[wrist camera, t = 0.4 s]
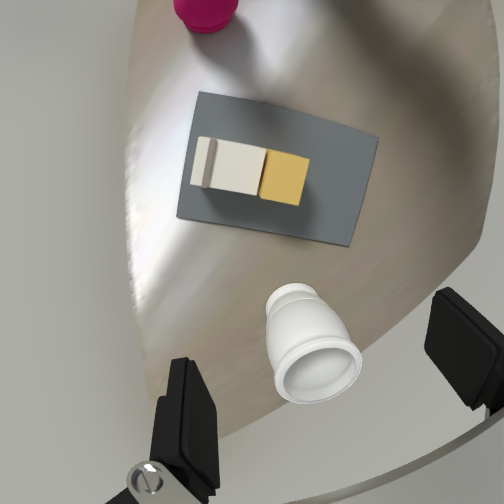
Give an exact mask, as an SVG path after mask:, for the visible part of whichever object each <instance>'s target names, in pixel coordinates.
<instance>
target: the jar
mask: <svg viewBox="0 0 504 504" xmlns="http://www.w3.org/2000/svg"><path fill="white" fill-rule="evenodd" d="M266 316H267V324H266V331H267V332H266V345H267V352H268V356H269V360H270V362H271V365H272V368H273V370H274V372H275V376H274V380H275V385H276V389H277V391H278V393H279V394H280V395H281V396H282V397H283V398H285V399H286V400H288V401H291V402H294V403H299V404H313V403H319V402H323V401H326V400H329V399H331V398H333V397H335V396H337V395H339V394H340V393H342V392H343V391H345V390H346V389H347V388H348V387H349V386H350V385H351V384H352V383H353V382H354V381H355V380H356V378H357V377H358V375H359V373H360V371H361V367H362V357H361V354H360V352H359V350H358V348H357V347H356V346H355V345H354V344H353V343H352V342H351V340H350V337H349V334H348V332H347V330H346V328H345V326H344V324H343V322H342V321H341V319H340V318H339V317H338V315H337V314H336V313H335V312H334V311H333V310H332V309H331V308H330V307H329V306H328V305H327V304H326V303H325V302H324V301H323V300H322V299H321V298H319V297H318V295H317V293H316V292H315V290H314V289H312V288H311V287H310V286H308V285H305V284H301V283H291V284H287V285H284V286H282V287H280V288H278V289H277V290H276V291H274V292H273V293H272V295H271V296H270V297H269V299H268V301H267V304H266Z"/></svg>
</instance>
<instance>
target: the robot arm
mask: <svg viewBox="0 0 504 504" xmlns="http://www.w3.org/2000/svg"><path fill="white" fill-rule="evenodd" d="M424 349H425V352H426V354H427V355H428V356H429V357H430V359H431V360H432V361H433V363H434V364H435V365H436V366H437V368H438V369H439V370H440V371H441V373H442V374H443V375H444V377H445V378H446V379H447V381H448V382H449V383H450V385H451V386H452V387H453V389H454V390H455V391H456V392H457V394H458V396H459V397H460V398H461V400H462V401H463V402H464V404H465V405H466V406H470V408H471V409H472V411H474V410H475V409H477V408H479V407H480V406H481V405H482V404H483V403H484V404H485V405H486V413H485V421H483V422H482V423H480V424H479V425H477V426H476V427H474V428H472V429H471V430H469V431H468V432H466V433H464V434H463V435H461V436H460V437H458V438H456V439H454V440H453V441H451V442H449V443H447V444H445V445H444V446H442V447H440V448H438V449H437V450H434V451H433V452H431V453H429V454H427V455H425V456H423V457H421V458H419V459H417V460H414V461H412V462H410V463H408V464H406V465H404V466H401V467H399V468H397V469H394V470H392V471H390V472H387V473H385V474H382V475H380V476H377V477H374V478H372V479H369V480H367V481H364V482H361V483H358V484H355V485H352V486H349V487H346V488H343V489H340V490H336V491H333V492H330V493H326V494H322V495H319V496H315V497H311V498H307V499H303V500H298V501H294V502H289V503H284V504H504V335H503V334H502V333H501V332H500V331H499V330H498V329H497V328H496V327H495V326H494V325H492V323H490V322H489V321H488V320H487V319H486V318H485V317H484V316H483V315H481V313H479V312H478V311H477V310H476V309H475V308H474V307H473V306H472V305H470V304H469V303H468V302H467V301H466V300H464V299H463V298H462V297H461V296H460V295H459V294H458V293H456V292H455V291H454V290H453V289H452V288H450V287H446V288H443V289H441V290H438V291H436V293H435V296H434V297H433V299H432V306H431V313H430V318H429V324H428V329H427V334H426V339H425V344H424ZM127 486H128V487H127V488H126V489H124V490H123V491H122V492H120V493H119V494H118V495H116V496H115V497H114V498H112V499H111V500H110V501H108V502H107V503H106V504H208V503H209V500H208V496H215V495H216V493H215V489H218V488H220V475H219V457H218V435H217V411H216V407H215V404H214V402H213V400H212V398H211V396H210V393H209V391H208V389H207V387H206V385H205V383H204V381H203V378H202V376H201V374H200V372H199V370H198V367H197V365H196V363H195V361H194V360H191V361H190V360H189V358H188V357H184V358H178V359H172V361H171V366H170V372H169V379H168V386H167V394H166V396H160V397H159V398H158V401H157V407H156V413H155V420H154V427H153V435H152V443H151V451H150V460H149V461H144V462H140V463H139V464H137V465H135V466H134V467H133V468H132V469H131V470H130V471H129V473H128V476H127Z"/></svg>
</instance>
